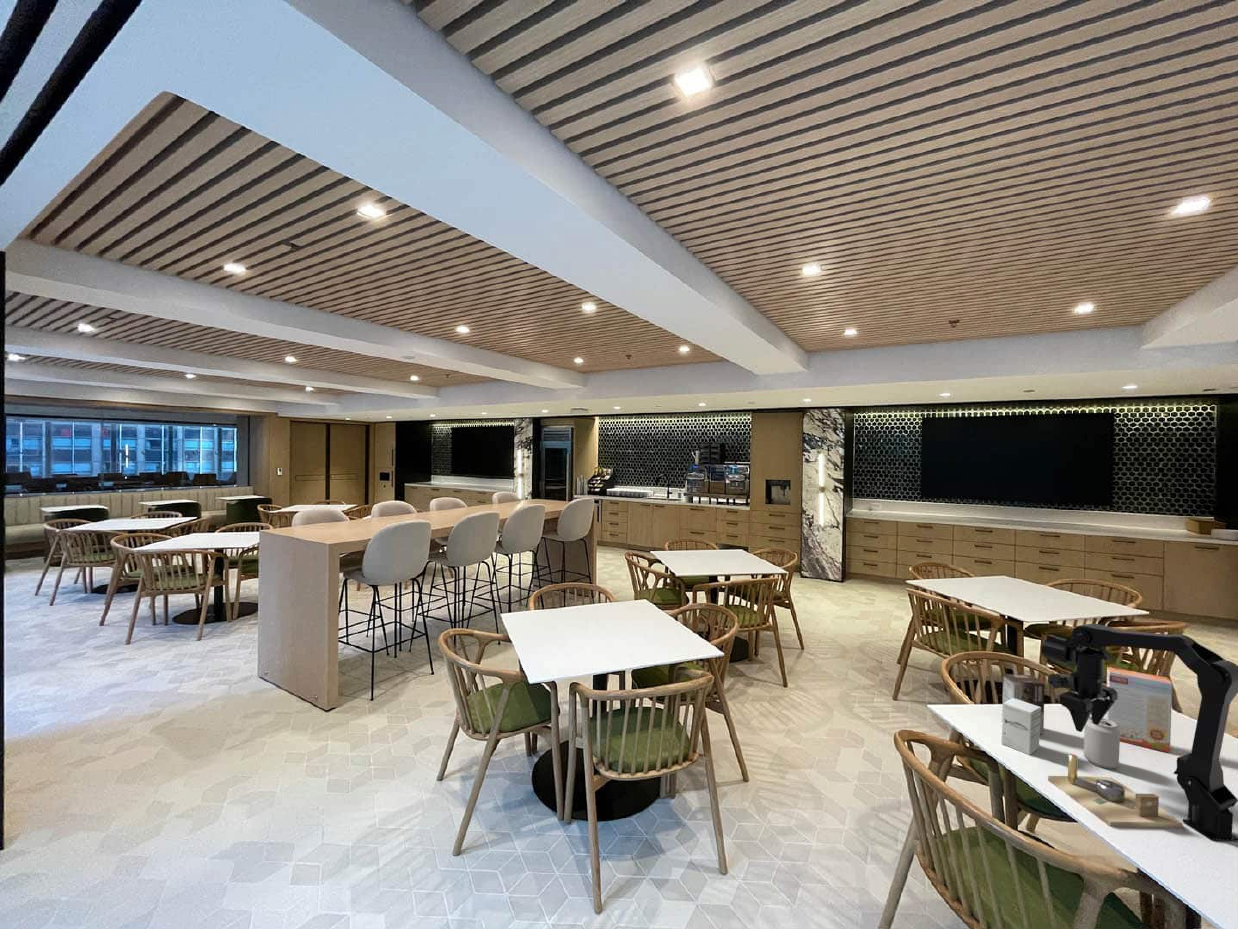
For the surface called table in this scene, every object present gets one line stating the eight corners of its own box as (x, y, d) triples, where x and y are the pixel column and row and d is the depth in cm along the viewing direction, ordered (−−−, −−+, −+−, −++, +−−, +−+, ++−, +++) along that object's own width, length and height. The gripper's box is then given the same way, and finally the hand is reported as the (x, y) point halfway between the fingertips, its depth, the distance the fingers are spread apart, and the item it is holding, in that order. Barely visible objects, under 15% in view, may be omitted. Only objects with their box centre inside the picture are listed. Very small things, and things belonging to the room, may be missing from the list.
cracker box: (1166, 745, 164) (1169, 677, 164) (1170, 754, 159) (1173, 683, 159) (1104, 730, 172) (1107, 665, 172) (1106, 738, 168) (1109, 671, 167)
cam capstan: (1125, 797, 135) (1127, 769, 135) (1122, 805, 132) (1124, 777, 132) (1069, 777, 143) (1070, 751, 143) (1065, 784, 140) (1066, 757, 140)
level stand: (1182, 828, 126) (1183, 802, 126) (1110, 826, 126) (1111, 801, 126) (1110, 781, 144) (1111, 759, 144) (1047, 780, 144) (1048, 758, 144)
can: (1125, 772, 149) (1127, 729, 149) (1094, 768, 151) (1095, 725, 150) (1106, 757, 156) (1108, 716, 156) (1077, 754, 158) (1078, 713, 158)
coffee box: (1031, 725, 175) (1033, 675, 175) (1044, 735, 168) (1046, 683, 168) (1000, 722, 176) (1002, 672, 176) (1012, 732, 170) (1014, 681, 170)
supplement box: (1000, 744, 162) (1002, 702, 162) (1011, 737, 166) (1012, 696, 166) (1029, 756, 156) (1031, 712, 156) (1040, 748, 160) (1041, 706, 160)
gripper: (1070, 656, 159) (1069, 709, 159) (1036, 665, 150) (1035, 721, 150) (1119, 669, 149) (1117, 725, 149) (1086, 680, 140) (1084, 740, 141)
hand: (1087, 727), depth 148 cm, fingers open, 9 cm apart
